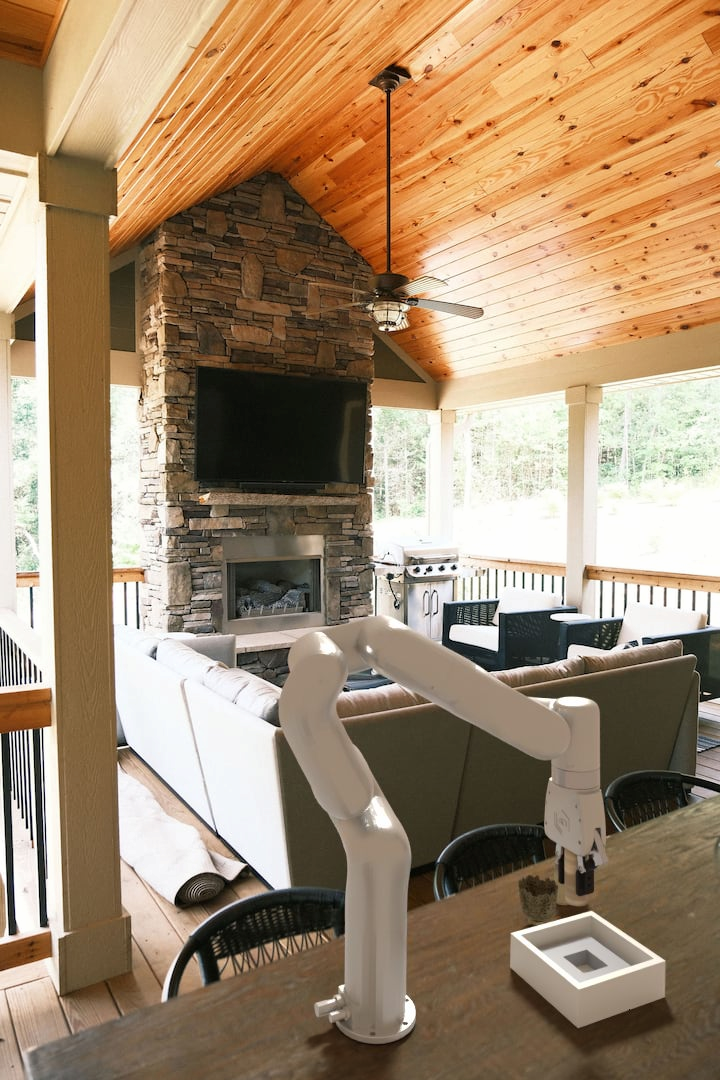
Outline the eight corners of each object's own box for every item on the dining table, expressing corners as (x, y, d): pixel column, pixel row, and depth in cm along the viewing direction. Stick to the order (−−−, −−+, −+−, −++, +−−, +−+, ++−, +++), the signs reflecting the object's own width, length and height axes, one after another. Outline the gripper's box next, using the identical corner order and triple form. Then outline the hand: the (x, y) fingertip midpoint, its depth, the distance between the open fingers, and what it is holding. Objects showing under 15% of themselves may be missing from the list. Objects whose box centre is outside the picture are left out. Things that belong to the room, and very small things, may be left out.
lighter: (559, 907, 150) (560, 857, 150) (548, 898, 153) (549, 849, 153) (589, 901, 152) (590, 852, 152) (578, 892, 156) (579, 845, 156)
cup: (512, 929, 142) (513, 887, 142) (523, 911, 148) (524, 871, 148) (552, 939, 138) (553, 896, 138) (561, 920, 145) (562, 880, 145)
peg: (574, 908, 119) (574, 846, 119) (559, 897, 123) (559, 837, 122) (592, 903, 121) (592, 841, 120) (577, 893, 124) (577, 833, 124)
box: (578, 1028, 114) (578, 989, 114) (510, 967, 130) (510, 933, 129) (664, 997, 122) (665, 960, 122) (591, 943, 137) (591, 910, 137)
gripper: (525, 763, 127) (525, 870, 128) (592, 796, 112) (592, 918, 113) (560, 757, 130) (561, 862, 131) (631, 788, 115) (631, 906, 116)
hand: (576, 886), depth 122 cm, fingers closed on peg, 3 cm apart
